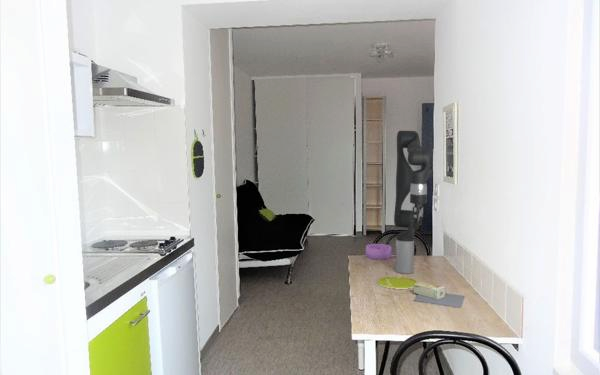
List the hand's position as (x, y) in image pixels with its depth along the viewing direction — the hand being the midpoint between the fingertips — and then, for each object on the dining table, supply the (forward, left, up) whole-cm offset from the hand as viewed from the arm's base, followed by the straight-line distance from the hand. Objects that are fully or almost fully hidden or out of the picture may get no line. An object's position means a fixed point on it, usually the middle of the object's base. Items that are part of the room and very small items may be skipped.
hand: (417, 227), depth 212 cm
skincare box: (+13, +14, -26) cm, 32 cm away
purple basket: (-53, -28, -29) cm, 67 cm away
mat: (+13, +13, -29) cm, 34 cm away
